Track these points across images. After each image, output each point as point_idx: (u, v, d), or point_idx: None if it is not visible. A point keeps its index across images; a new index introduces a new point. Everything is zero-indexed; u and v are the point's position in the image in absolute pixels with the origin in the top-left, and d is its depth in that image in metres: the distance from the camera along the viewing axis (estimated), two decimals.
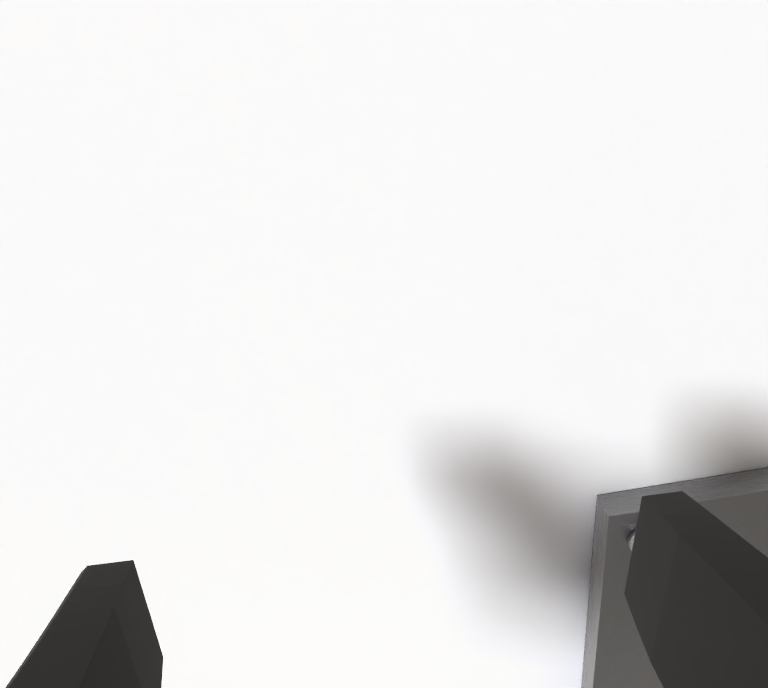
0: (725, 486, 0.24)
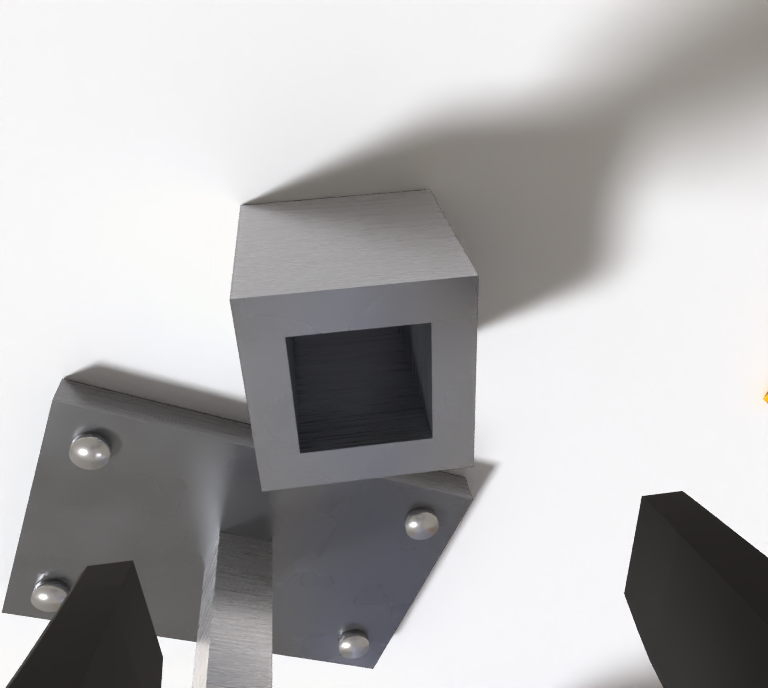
0: None
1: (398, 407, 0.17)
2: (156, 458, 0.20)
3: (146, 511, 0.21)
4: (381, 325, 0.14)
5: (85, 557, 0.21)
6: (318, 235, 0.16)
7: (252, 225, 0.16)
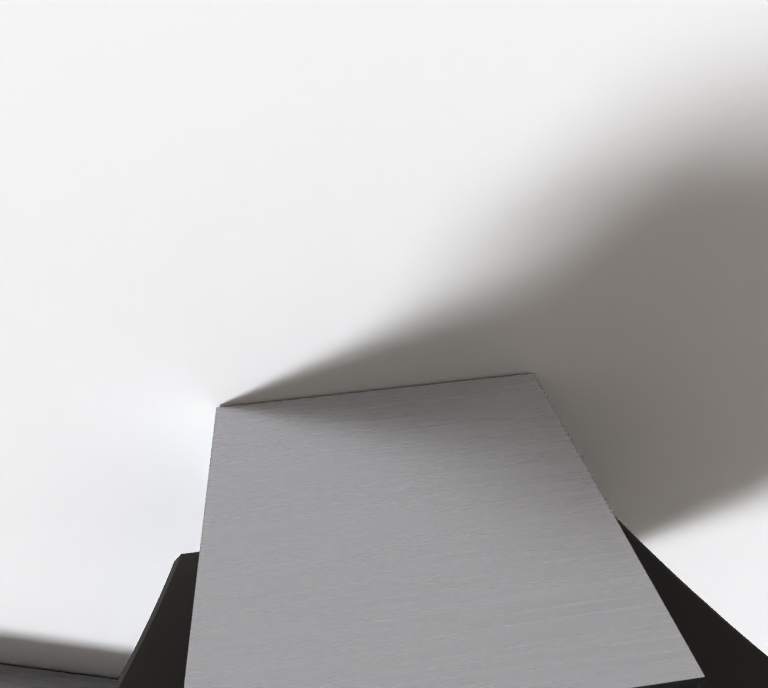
0: None
1: None
2: None
3: None
4: None
5: None
6: (356, 509, 0.08)
7: (233, 469, 0.09)
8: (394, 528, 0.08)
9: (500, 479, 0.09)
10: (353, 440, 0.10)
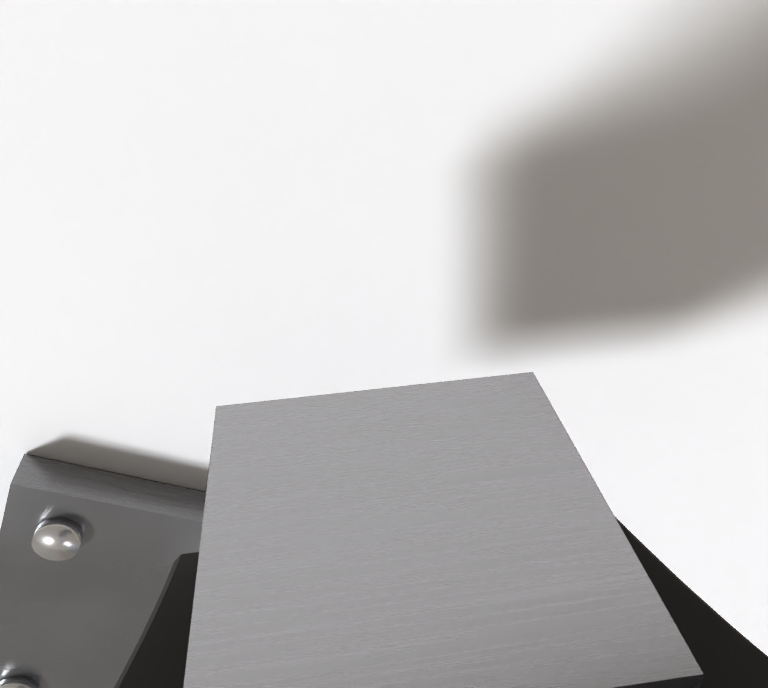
0: None
1: None
2: (135, 544, 0.17)
3: (125, 602, 0.18)
4: None
5: (54, 651, 0.18)
6: (355, 507, 0.08)
7: (234, 467, 0.09)
8: (393, 526, 0.08)
9: (499, 477, 0.09)
10: (353, 438, 0.10)
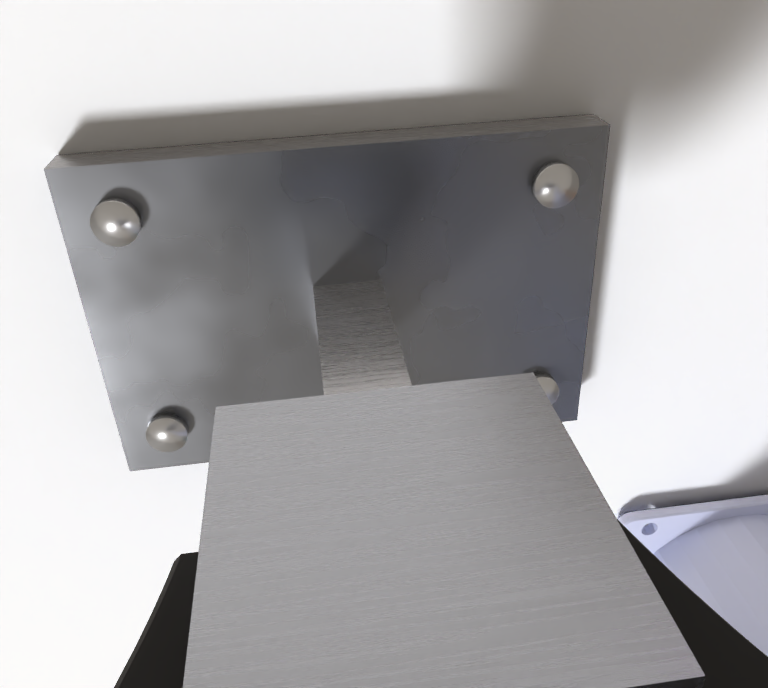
0: None
1: None
2: (194, 207, 0.16)
3: (218, 286, 0.17)
4: None
5: (180, 372, 0.18)
6: (355, 507, 0.08)
7: (233, 468, 0.09)
8: (394, 527, 0.08)
9: (500, 478, 0.09)
10: (353, 439, 0.10)
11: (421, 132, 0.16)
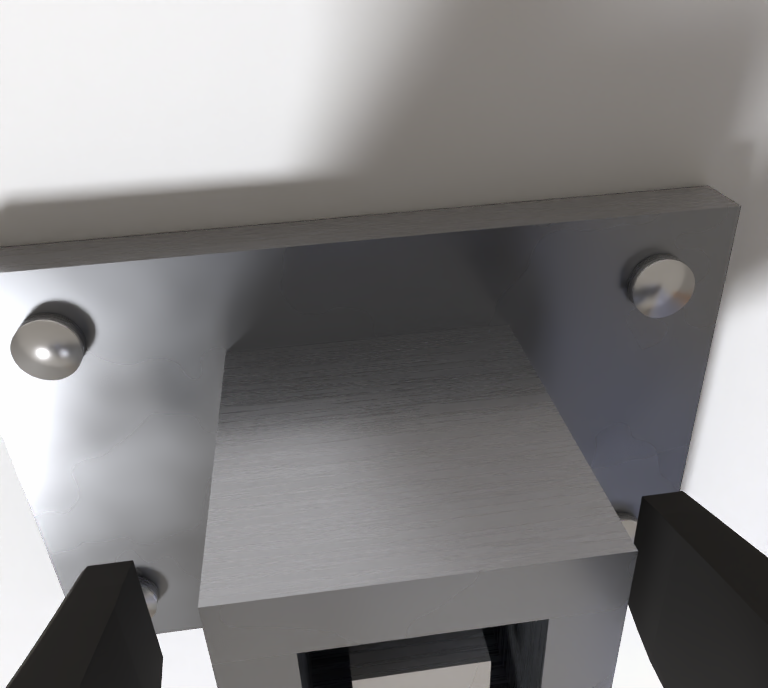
0: None
1: None
2: (160, 323, 0.11)
3: (195, 423, 0.12)
4: (463, 624, 0.08)
5: (147, 527, 0.13)
6: (349, 430, 0.10)
7: (242, 400, 0.10)
8: (382, 445, 0.09)
9: (475, 407, 0.10)
10: (347, 377, 0.11)
11: (477, 215, 0.12)
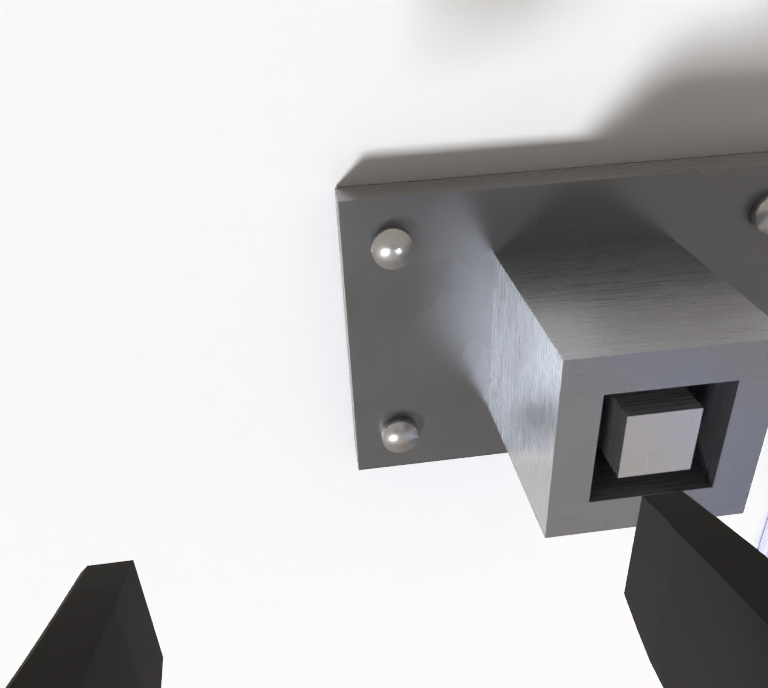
0: (347, 336, 0.19)
1: None
2: (459, 234, 0.18)
3: (466, 304, 0.19)
4: (691, 383, 0.15)
5: (419, 380, 0.20)
6: (599, 290, 0.16)
7: (523, 277, 0.17)
8: (624, 296, 0.16)
9: (671, 279, 0.17)
10: (583, 266, 0.17)
11: (656, 166, 0.18)
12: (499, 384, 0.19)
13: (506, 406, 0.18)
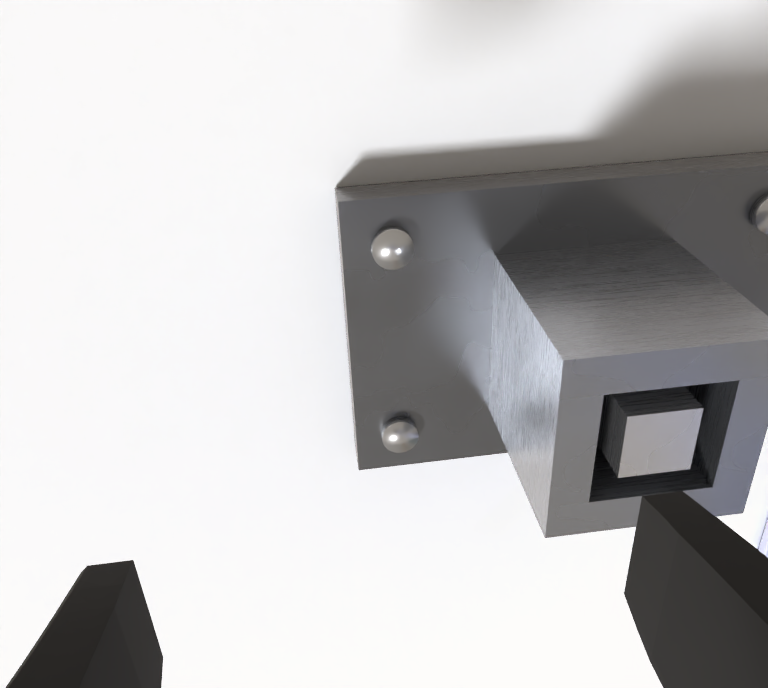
0: (347, 336, 0.19)
1: None
2: (459, 234, 0.18)
3: (466, 304, 0.19)
4: (691, 383, 0.15)
5: (419, 380, 0.20)
6: (599, 290, 0.16)
7: (523, 277, 0.17)
8: (624, 296, 0.16)
9: (671, 279, 0.17)
10: (583, 266, 0.17)
11: (656, 166, 0.18)
12: (499, 384, 0.19)
13: (506, 406, 0.18)
